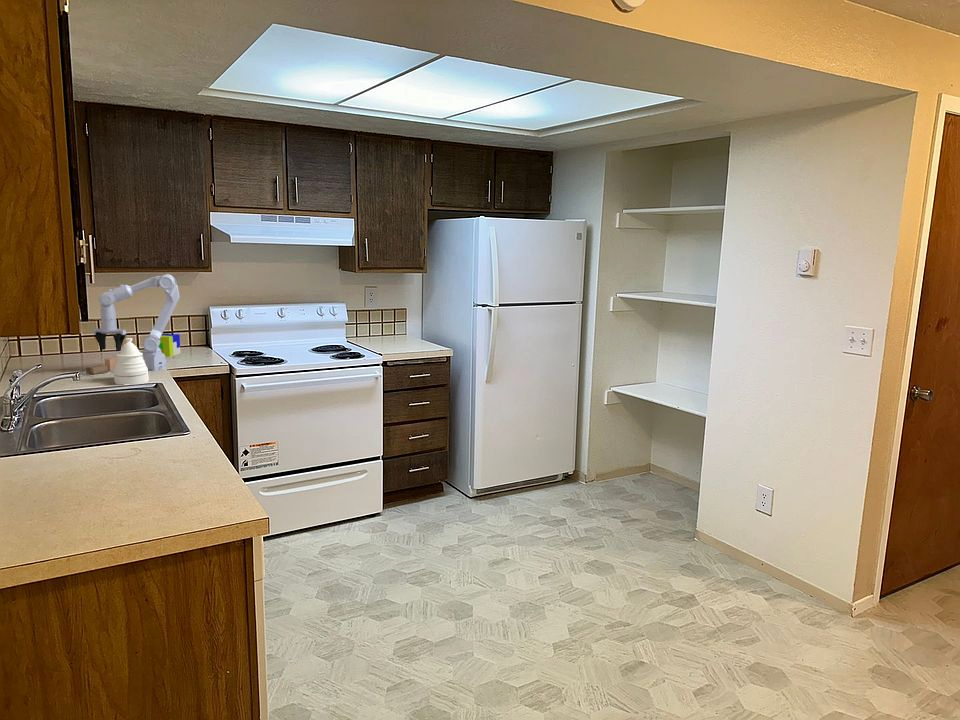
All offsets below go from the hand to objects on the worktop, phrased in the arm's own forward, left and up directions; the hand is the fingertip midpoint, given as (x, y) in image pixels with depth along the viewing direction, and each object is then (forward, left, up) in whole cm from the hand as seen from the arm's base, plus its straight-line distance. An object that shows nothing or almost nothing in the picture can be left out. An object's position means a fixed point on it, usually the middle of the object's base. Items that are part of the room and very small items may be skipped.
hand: (110, 350), depth 297 cm
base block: (-2, +8, -9) cm, 12 cm away
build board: (-1, +4, -10) cm, 11 cm away
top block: (0, 0, -9) cm, 9 cm away
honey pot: (-24, +6, -10) cm, 27 cm away
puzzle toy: (+22, -41, -10) cm, 47 cm away
